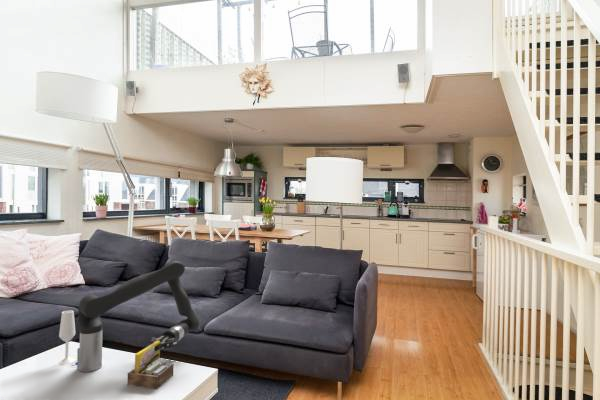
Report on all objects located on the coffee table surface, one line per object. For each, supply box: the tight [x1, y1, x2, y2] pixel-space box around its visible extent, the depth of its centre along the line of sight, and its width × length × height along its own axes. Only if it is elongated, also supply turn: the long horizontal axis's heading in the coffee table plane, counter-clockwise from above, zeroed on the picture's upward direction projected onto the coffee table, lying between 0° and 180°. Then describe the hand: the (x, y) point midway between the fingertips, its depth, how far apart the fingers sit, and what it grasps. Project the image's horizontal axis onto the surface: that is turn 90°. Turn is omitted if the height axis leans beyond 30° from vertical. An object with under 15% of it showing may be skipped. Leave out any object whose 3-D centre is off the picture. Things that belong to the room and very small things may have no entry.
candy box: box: [134, 341, 161, 373], centre depth 164 cm, size 16×2×8 cm, turn 168°
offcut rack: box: [126, 361, 174, 390], centre depth 159 cm, size 14×12×5 cm
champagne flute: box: [58, 309, 76, 365], centre depth 176 cm, size 7×7×24 cm
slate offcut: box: [153, 365, 168, 376], centre depth 158 cm, size 2×7×6 cm, turn 168°
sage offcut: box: [146, 361, 161, 375], centre depth 160 cm, size 2×8×6 cm, turn 168°
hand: (152, 348), depth 167 cm, fingers closed on candy box, 2 cm apart
